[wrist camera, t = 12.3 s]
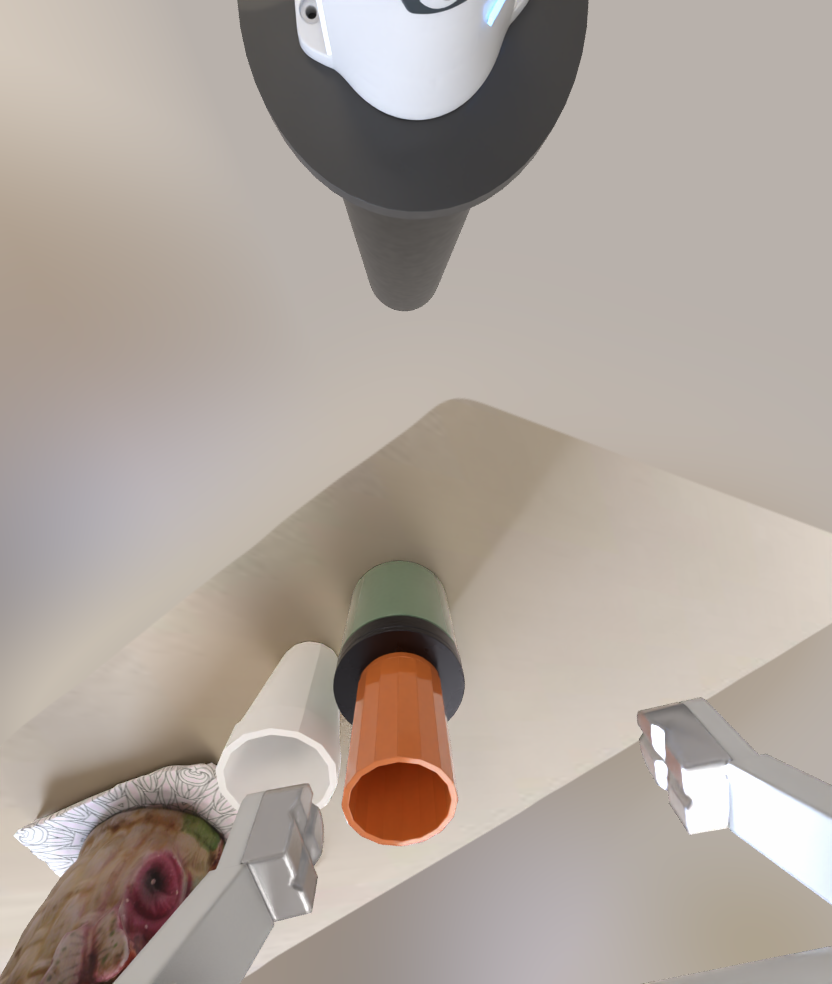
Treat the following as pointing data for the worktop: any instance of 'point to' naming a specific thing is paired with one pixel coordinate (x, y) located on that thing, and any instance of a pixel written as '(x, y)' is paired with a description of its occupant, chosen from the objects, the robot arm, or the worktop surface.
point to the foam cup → (287, 731)
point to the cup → (399, 754)
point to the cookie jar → (119, 873)
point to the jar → (399, 597)
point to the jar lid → (397, 638)
